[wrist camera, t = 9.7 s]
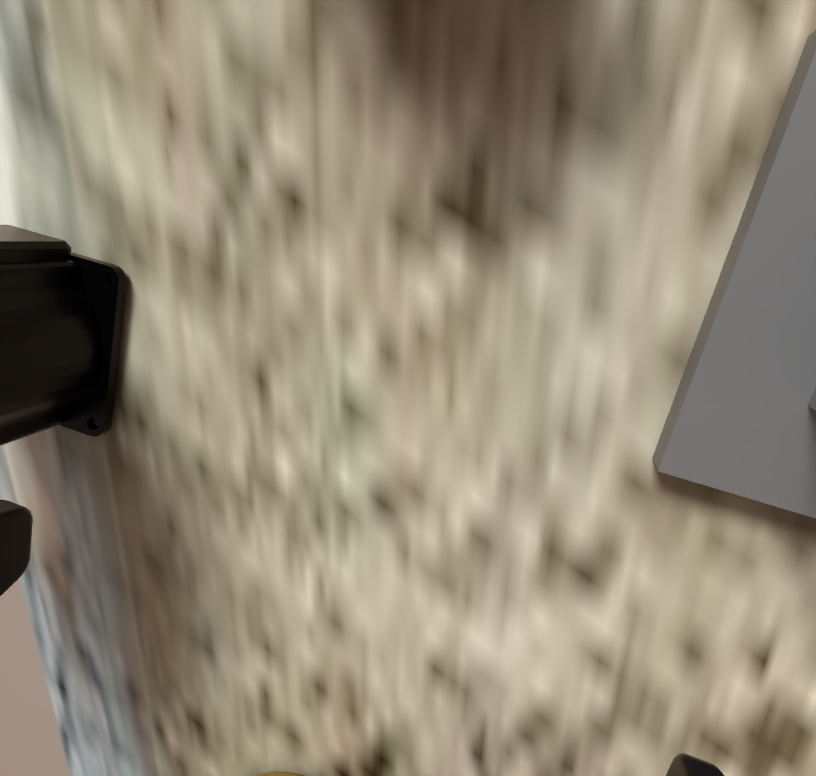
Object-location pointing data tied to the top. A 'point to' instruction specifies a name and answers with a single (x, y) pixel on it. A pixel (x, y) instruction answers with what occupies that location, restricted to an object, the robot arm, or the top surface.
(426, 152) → the top surface
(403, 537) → the top surface
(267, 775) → the paper tube
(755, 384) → the stand base
